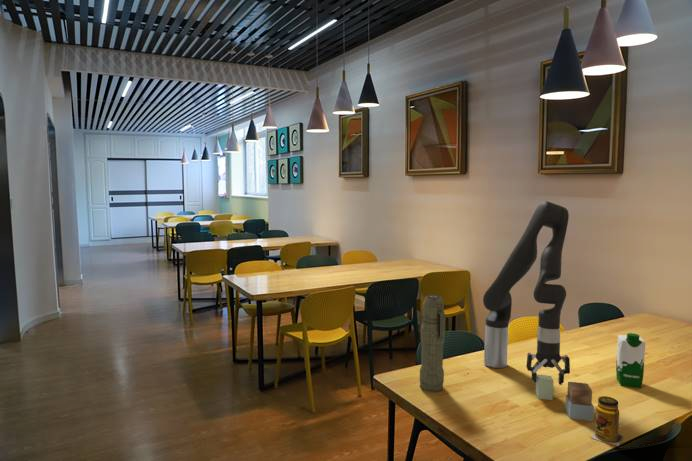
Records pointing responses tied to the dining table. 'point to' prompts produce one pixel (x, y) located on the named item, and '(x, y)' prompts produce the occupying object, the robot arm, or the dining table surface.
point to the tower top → (579, 393)
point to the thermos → (432, 344)
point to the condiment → (607, 421)
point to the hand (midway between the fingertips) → (547, 383)
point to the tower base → (579, 411)
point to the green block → (544, 387)
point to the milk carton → (630, 360)
